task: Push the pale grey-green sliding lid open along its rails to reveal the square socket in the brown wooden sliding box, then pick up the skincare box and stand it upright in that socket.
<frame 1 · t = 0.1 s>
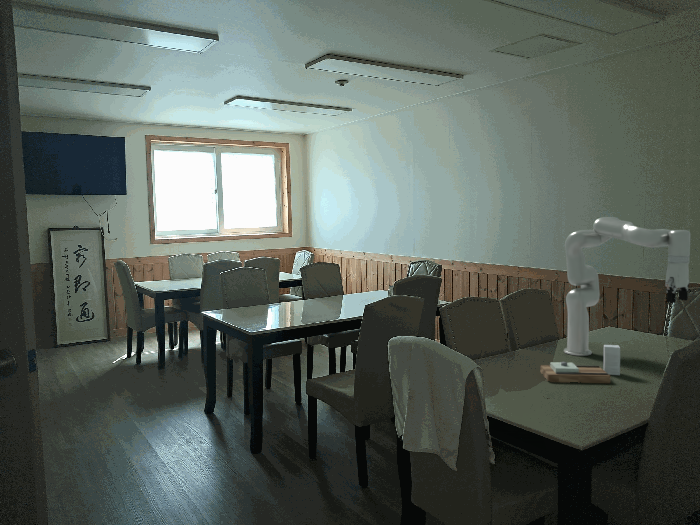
hand: (677, 301, 220), 31 cm above the table, tool pointing down, fingers open, 9 cm apart
lid: (564, 366, 222), point 5 cm above the table, slide at 0.0 cm
skincare box: (611, 374, 226), on the table
brown wooden sliding box: (574, 377, 222), on the table
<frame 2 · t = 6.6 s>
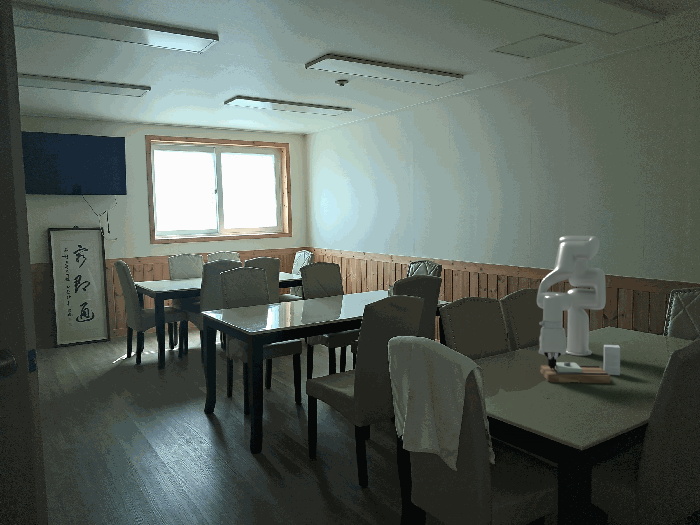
hand: (552, 367, 223), 4 cm above the table, tool pointing down, fingers closed
lid: (567, 366, 222), point 5 cm above the table, slide at 1.2 cm, touching gripper
everything else where it was.
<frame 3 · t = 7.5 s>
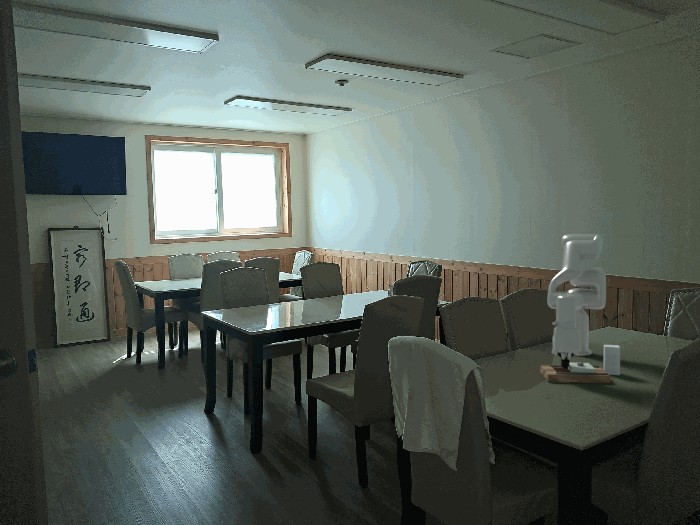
hand: (565, 368, 222), 4 cm above the table, tool pointing down, fingers closed
lid: (580, 366, 221), point 5 cm above the table, slide at 6.5 cm, touching gripper
everything else where it was.
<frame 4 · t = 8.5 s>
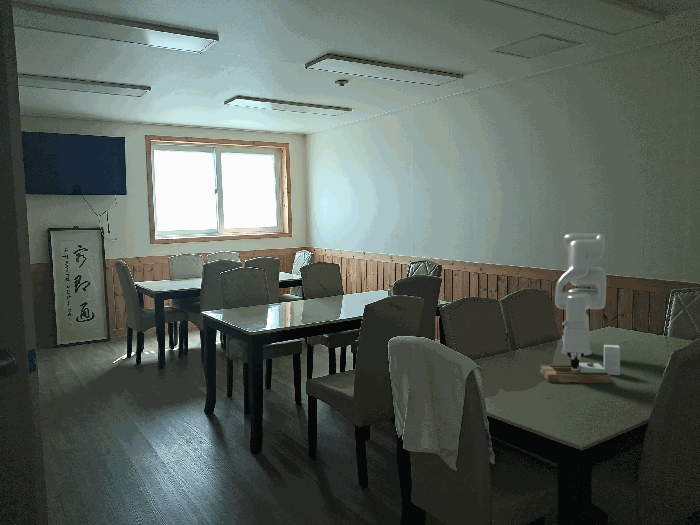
hand: (574, 368, 221), 4 cm above the table, tool pointing down, fingers closed
lid: (590, 366, 221), point 5 cm above the table, slide at 10.3 cm, touching gripper
everything else where it was.
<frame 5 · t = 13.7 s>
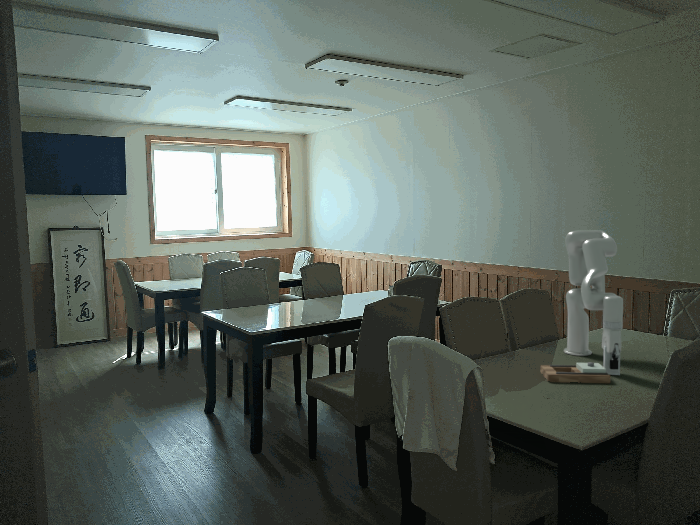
hand: (611, 366, 226), 3 cm above the table, tool pointing down, fingers closed on skincare box, 4 cm apart
lid: (590, 366, 221), point 5 cm above the table, slide at 10.6 cm
skincare box: (611, 374, 226), on the table, touching gripper
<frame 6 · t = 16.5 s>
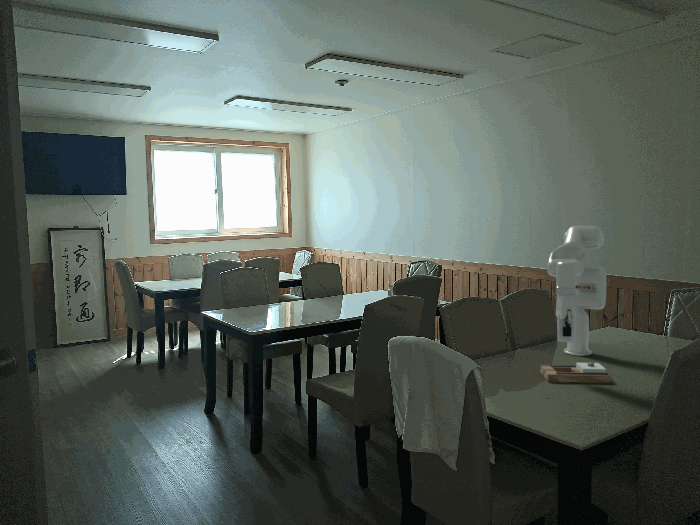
hand: (565, 334, 221), 18 cm above the table, tool pointing down, fingers closed on skincare box, 4 cm apart
skincare box: (565, 341, 221), point 15 cm above the table, touching gripper
everything else where it was.
when the fingers open (4 cm above the table, at t = 19.4 s): skincare box drops 1 cm, resting in brown wooden sliding box.
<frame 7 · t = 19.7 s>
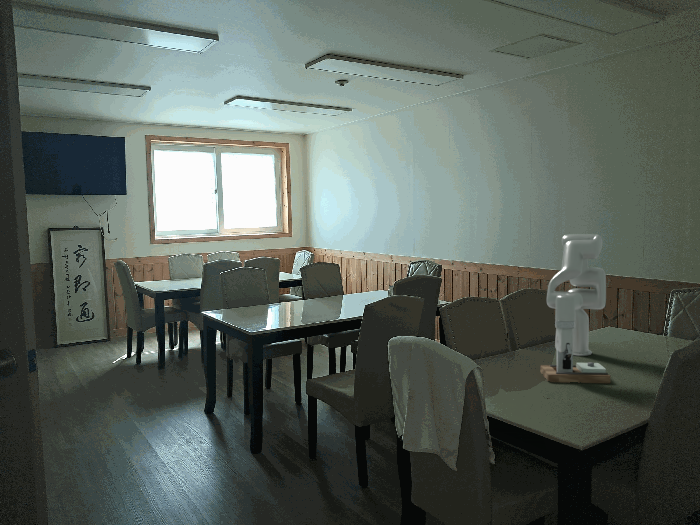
hand: (564, 366, 222), 5 cm above the table, tool pointing down, fingers open, 7 cm apart
skincare box: (564, 377, 222), resting in brown wooden sliding box
everything else where it was.
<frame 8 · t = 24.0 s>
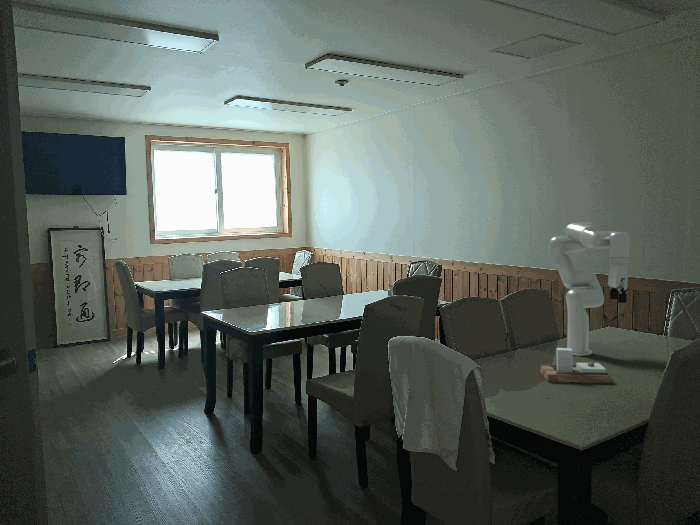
hand: (617, 300, 229), 30 cm above the table, tool pointing down, fingers open, 9 cm apart
nothing on the table moved.
at the end: lid slide at 10.6 cm; skincare box 0.3 cm from the target spot on the brown wooden sliding box, point 0.0 cm above the brown wooden sliding box's base; skincare box tilted 0° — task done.
